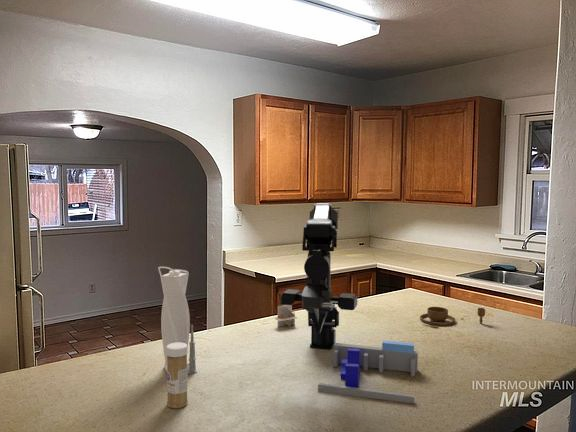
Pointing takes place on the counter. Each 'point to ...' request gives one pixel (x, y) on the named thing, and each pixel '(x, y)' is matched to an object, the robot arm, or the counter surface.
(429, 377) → the counter surface
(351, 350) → the cable clip
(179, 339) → the skyscraper
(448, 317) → the place setting
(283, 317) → the architectural model
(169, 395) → the sprinkles bottle
